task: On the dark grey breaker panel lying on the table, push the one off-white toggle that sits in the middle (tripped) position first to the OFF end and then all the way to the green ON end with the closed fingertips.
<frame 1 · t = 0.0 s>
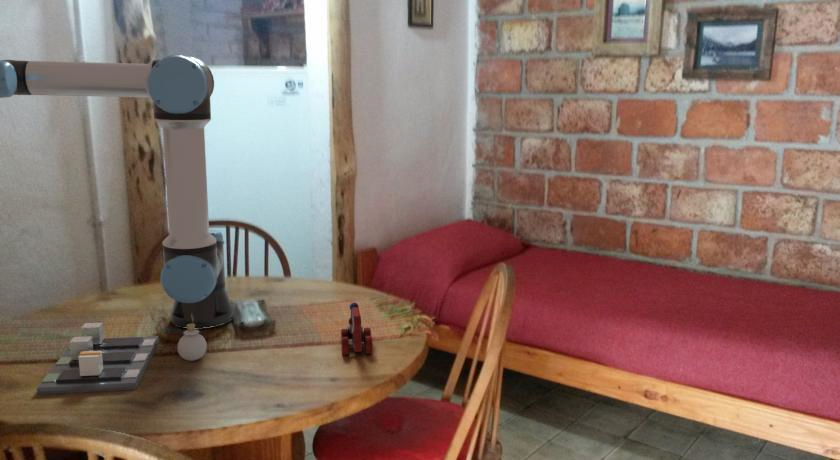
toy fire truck: (356, 349, 156), on the table
panel: (103, 366, 144), on the table
ornament: (193, 359, 149), on the table
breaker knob: (91, 362, 135), point 4 cm above the table, slide at 0.0 cm
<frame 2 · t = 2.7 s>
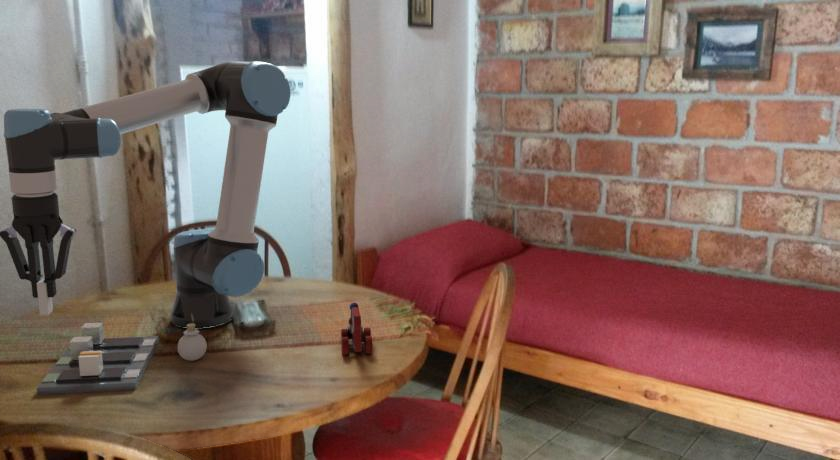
hand: (46, 312, 131), 15 cm above the table, fingers closed
nothing on the table moved.
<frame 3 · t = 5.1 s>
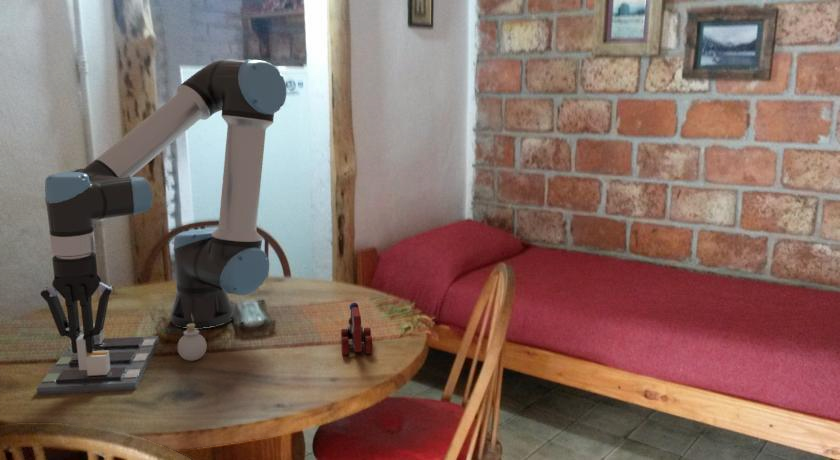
hand: (85, 367, 135), 3 cm above the table, fingers closed
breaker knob: (98, 362, 135), point 4 cm above the table, slide at -1.4 cm, touching gripper
everything else where it was.
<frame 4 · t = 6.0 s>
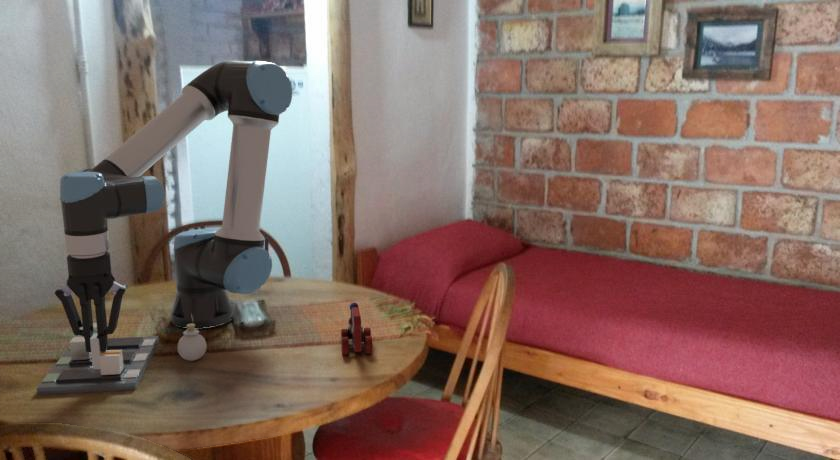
hand: (98, 366, 136), 4 cm above the table, fingers closed
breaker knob: (111, 361, 136), point 4 cm above the table, slide at -3.9 cm, touching gripper
everything else where it was.
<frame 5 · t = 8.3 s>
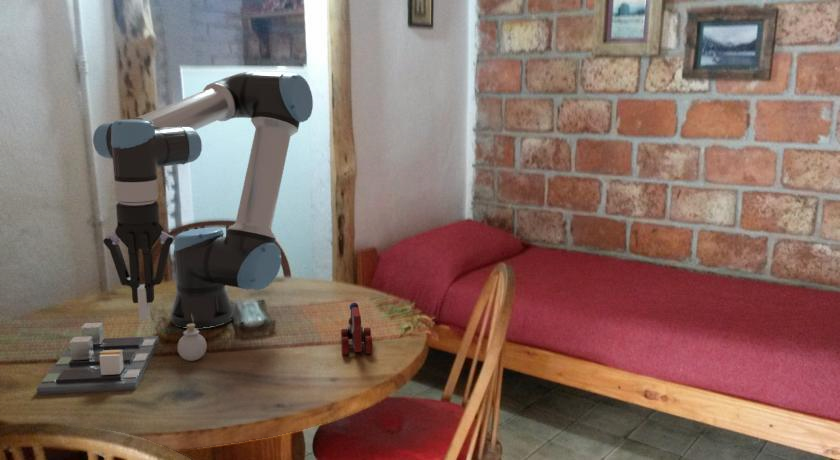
hand: (144, 317, 135), 14 cm above the table, fingers closed
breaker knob: (111, 361, 136), point 4 cm above the table, slide at -3.9 cm
everything else where it was.
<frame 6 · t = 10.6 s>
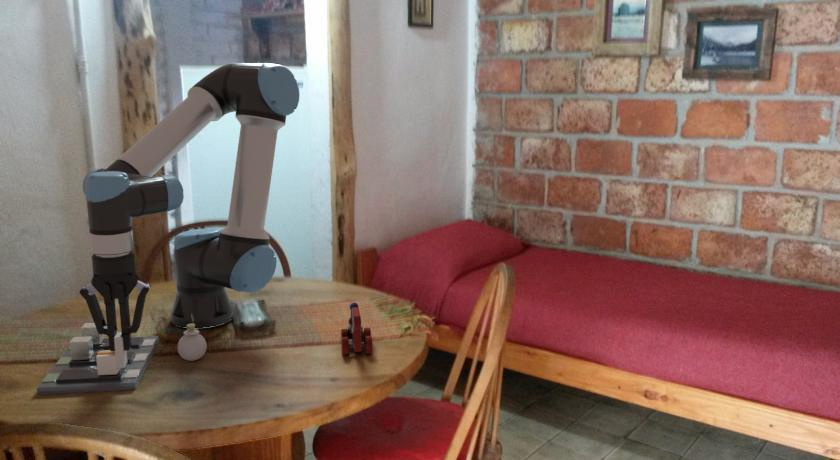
hand: (122, 364, 136), 4 cm above the table, fingers closed
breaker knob: (108, 361, 136), point 4 cm above the table, slide at -3.3 cm, touching gripper
everything else where it was.
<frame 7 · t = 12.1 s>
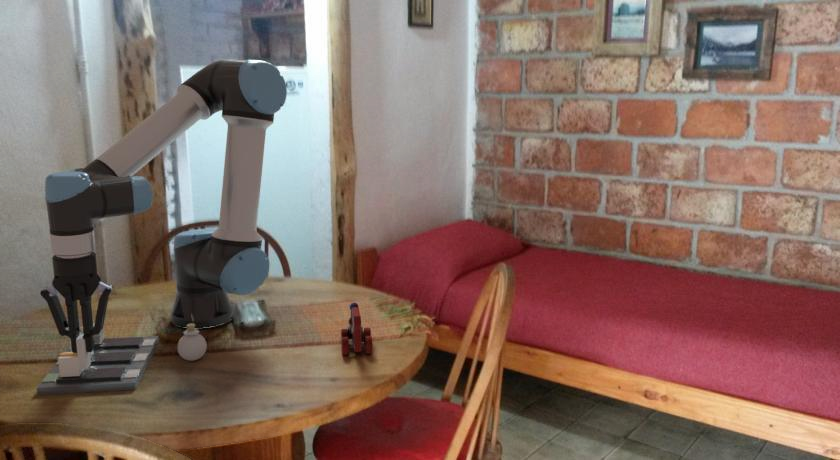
hand: (84, 366, 135), 4 cm above the table, fingers closed
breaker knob: (71, 363, 135), point 4 cm above the table, slide at 3.7 cm, touching gripper
everything else where it was.
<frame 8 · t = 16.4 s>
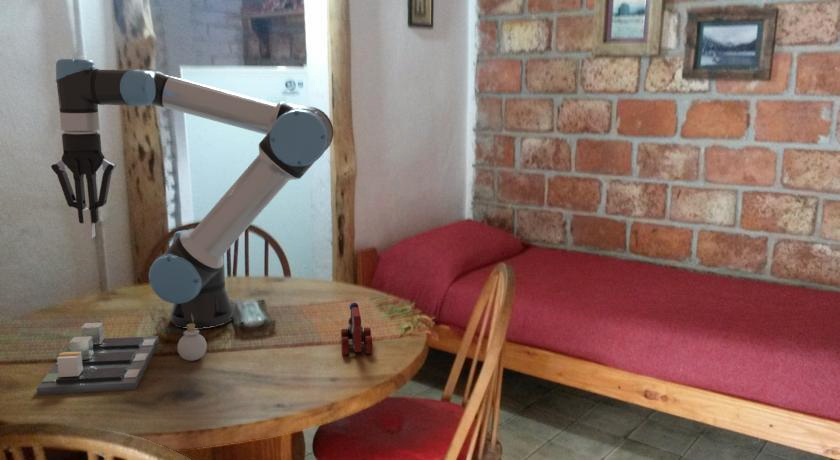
hand: (90, 236, 153), 24 cm above the table, fingers closed
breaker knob: (70, 363, 134), point 4 cm above the table, slide at 3.9 cm
everything else where it was.
at the end: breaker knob slide at 3.9 cm; the gripper is holding nothing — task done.
